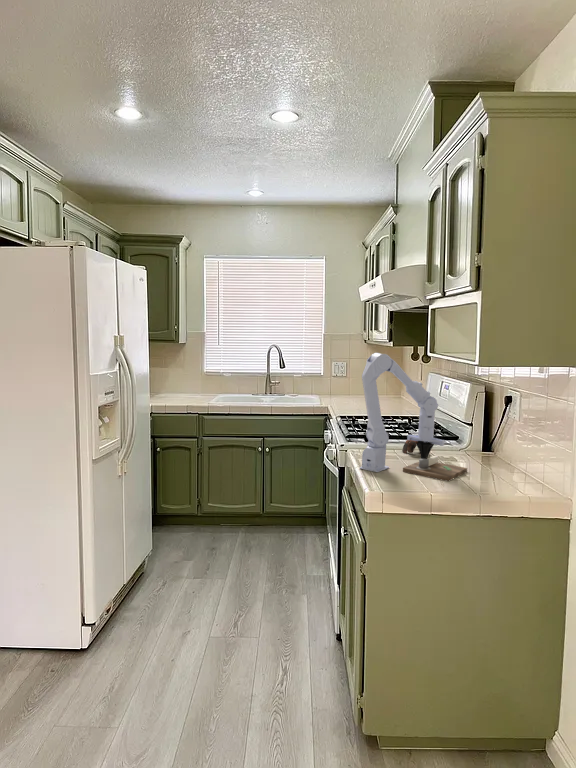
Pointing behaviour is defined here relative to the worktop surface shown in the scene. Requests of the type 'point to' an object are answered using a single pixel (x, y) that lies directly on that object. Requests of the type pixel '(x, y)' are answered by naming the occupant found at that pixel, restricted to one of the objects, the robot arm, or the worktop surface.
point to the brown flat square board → (436, 471)
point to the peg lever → (427, 461)
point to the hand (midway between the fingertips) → (424, 460)
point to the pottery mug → (409, 446)
